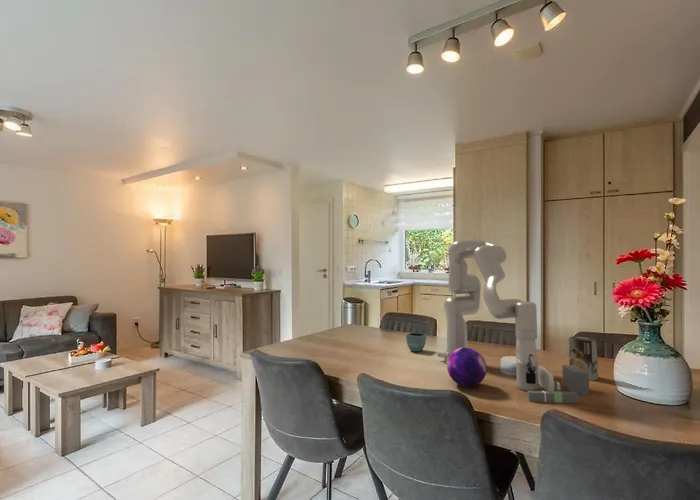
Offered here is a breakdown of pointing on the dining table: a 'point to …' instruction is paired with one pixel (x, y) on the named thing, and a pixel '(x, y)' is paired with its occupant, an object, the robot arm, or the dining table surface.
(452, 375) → the decorative orb
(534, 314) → the robot arm
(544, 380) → the plate
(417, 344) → the flower pot
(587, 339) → the coffee box
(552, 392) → the frame
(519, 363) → the can
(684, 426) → the dining table surface
